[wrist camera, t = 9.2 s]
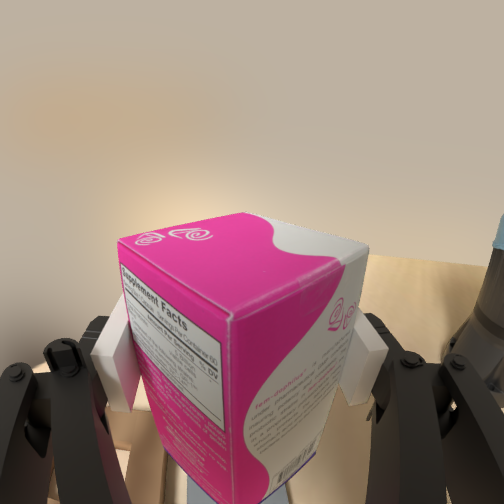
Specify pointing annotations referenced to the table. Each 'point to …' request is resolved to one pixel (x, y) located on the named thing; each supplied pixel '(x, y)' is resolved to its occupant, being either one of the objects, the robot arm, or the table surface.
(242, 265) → the supplement box
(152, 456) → the board
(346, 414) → the table surface
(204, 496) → the coaster
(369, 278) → the table surface
